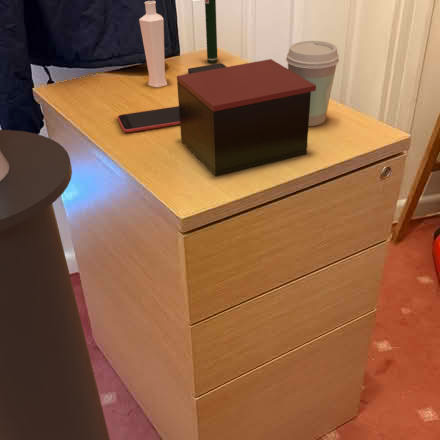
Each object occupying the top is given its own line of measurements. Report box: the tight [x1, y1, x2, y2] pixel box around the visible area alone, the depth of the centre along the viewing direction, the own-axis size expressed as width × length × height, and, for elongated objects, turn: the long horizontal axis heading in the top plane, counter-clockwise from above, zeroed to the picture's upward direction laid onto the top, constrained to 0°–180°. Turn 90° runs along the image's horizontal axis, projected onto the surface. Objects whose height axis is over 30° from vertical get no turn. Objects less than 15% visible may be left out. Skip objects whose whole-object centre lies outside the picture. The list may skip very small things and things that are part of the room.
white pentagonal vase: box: [138, 0, 168, 88], centre depth 111 cm, size 5×4×15 cm
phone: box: [187, 62, 228, 74], centre depth 115 cm, size 8×1×15 cm
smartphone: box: [117, 105, 180, 133], centre depth 102 cm, size 7×1×14 cm
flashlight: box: [204, 0, 218, 64], centre depth 119 cm, size 5×5×20 cm
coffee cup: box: [285, 40, 340, 127], centre depth 97 cm, size 8×9×12 cm
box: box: [176, 81, 311, 177], centre depth 90 cm, size 16×14×10 cm
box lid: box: [176, 58, 316, 112], centre depth 86 cm, size 16×14×1 cm
